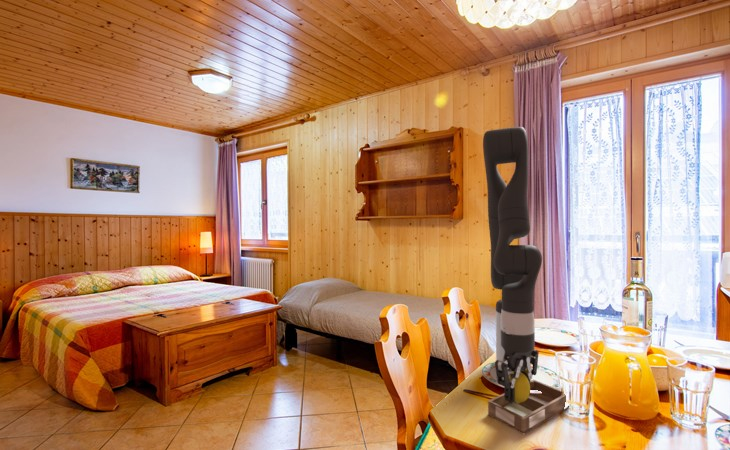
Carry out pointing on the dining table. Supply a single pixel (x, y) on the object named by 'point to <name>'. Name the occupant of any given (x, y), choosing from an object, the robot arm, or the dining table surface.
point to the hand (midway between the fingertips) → (517, 397)
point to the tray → (528, 408)
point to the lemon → (521, 388)
